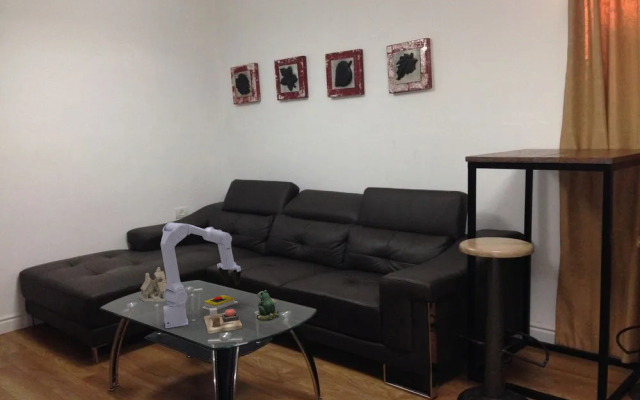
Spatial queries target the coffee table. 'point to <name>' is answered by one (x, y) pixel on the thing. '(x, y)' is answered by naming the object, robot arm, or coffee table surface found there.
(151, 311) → the coffee table surface
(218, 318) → the walnut slider
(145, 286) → the ceramic cottage
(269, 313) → the frog figurine
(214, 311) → the grey slider
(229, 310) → the red push button
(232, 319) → the control panel
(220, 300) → the emergency button
